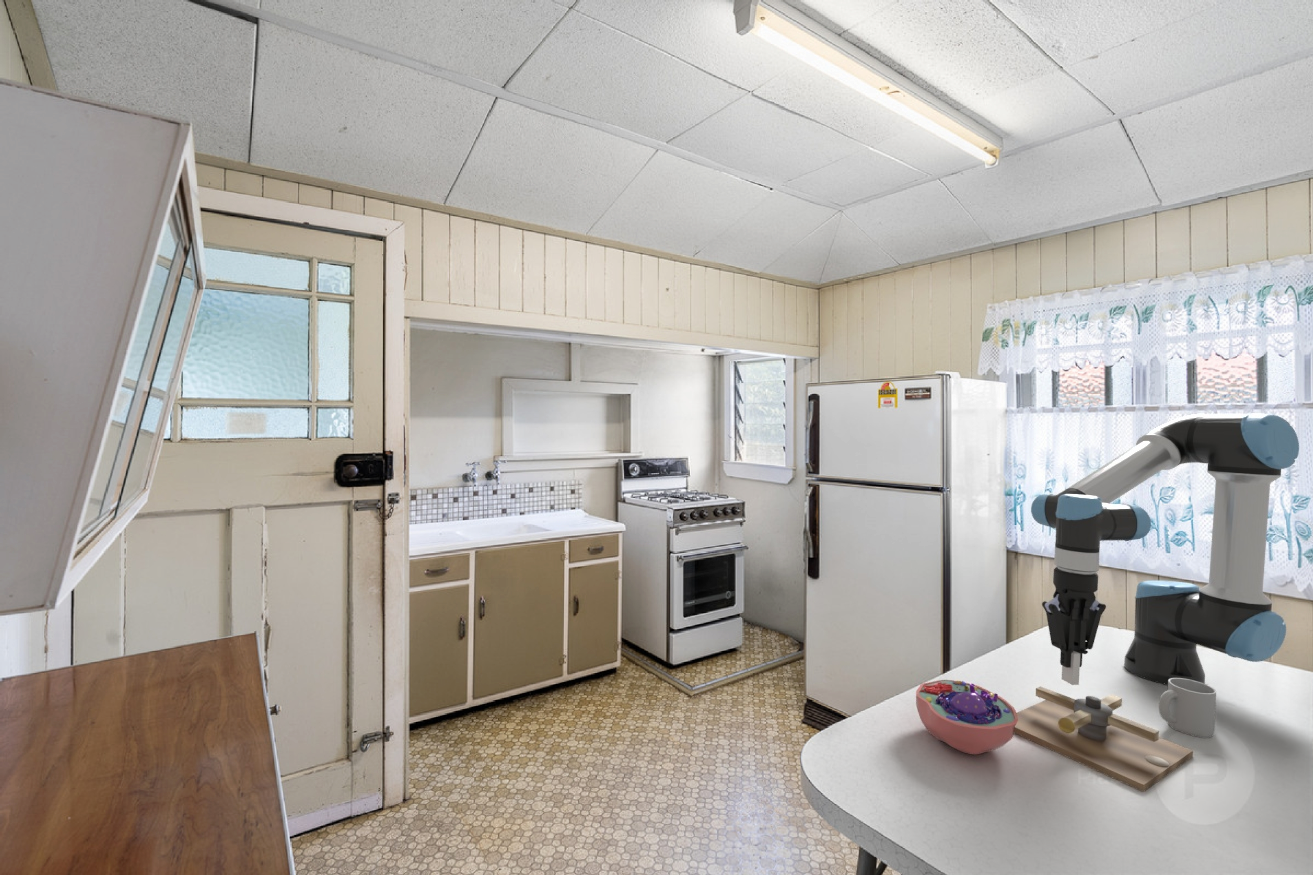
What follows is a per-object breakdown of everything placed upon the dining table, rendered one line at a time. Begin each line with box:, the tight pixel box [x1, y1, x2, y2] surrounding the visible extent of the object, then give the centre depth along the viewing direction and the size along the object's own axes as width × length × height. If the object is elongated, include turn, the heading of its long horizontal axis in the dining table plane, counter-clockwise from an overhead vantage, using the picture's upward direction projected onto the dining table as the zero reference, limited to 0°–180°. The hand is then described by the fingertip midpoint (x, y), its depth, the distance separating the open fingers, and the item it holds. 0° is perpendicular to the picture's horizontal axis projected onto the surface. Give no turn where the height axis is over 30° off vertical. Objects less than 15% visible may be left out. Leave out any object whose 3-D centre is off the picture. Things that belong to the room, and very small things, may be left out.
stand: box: [1013, 699, 1194, 792], centre depth 114 cm, size 21×24×4 cm
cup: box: [1158, 678, 1217, 739], centre depth 119 cm, size 7×10×9 cm
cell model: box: [915, 679, 1018, 755], centre depth 112 cm, size 17×20×11 cm
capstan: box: [1035, 686, 1160, 742], centre depth 113 cm, size 22×20×4 cm
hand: (1070, 681), depth 121 cm, fingers closed
